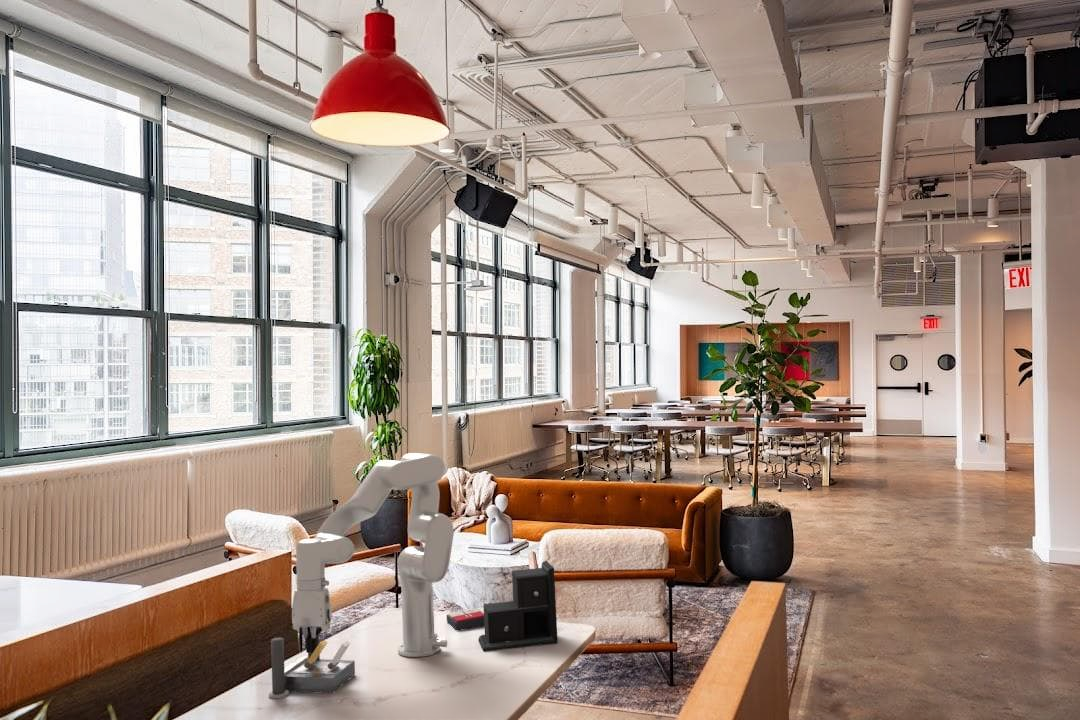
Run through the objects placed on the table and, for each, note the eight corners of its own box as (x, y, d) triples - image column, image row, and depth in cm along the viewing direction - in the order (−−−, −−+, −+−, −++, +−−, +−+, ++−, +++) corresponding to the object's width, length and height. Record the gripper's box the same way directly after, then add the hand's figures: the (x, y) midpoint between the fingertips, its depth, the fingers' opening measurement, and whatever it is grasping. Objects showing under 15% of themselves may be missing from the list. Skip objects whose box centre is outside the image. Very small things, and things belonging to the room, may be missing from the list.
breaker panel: (354, 674, 240) (354, 657, 240) (332, 693, 226) (332, 675, 226) (302, 672, 243) (302, 655, 243) (277, 690, 229) (277, 672, 229)
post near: (292, 692, 228) (290, 636, 228) (282, 699, 223) (281, 642, 223) (275, 691, 229) (273, 636, 229) (265, 698, 224) (263, 642, 224)
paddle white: (337, 665, 235) (351, 643, 234) (331, 670, 232) (345, 647, 231) (332, 662, 235) (346, 639, 235) (326, 666, 232) (341, 643, 231)
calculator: (445, 612, 288) (487, 604, 294) (447, 625, 288) (488, 616, 294) (455, 620, 278) (498, 612, 284) (456, 633, 278) (499, 624, 284)
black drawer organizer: (483, 652, 256) (480, 573, 256) (478, 641, 267) (475, 566, 267) (558, 644, 261) (555, 567, 261) (550, 634, 271) (548, 560, 272)
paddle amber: (313, 664, 237) (328, 642, 236) (307, 669, 233) (322, 647, 232) (309, 661, 237) (324, 639, 236) (303, 665, 233) (318, 643, 233)
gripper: (341, 582, 237) (342, 648, 236) (292, 580, 240) (293, 646, 240) (329, 588, 230) (330, 657, 229) (279, 586, 233) (280, 654, 232)
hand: (311, 651), depth 234 cm, fingers closed
